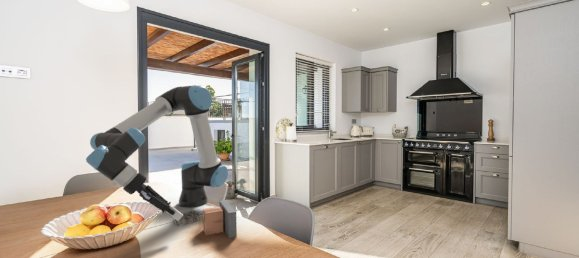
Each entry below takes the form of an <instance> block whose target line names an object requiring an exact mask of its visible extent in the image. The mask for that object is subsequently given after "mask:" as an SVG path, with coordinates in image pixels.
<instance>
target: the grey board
mask: <svg viewBox="0 0 579 258" xmlns="http://www.w3.org/2000/svg"><path fill="white" fill-rule="evenodd" d="M219 207H221V209H222V210H223V231H224V232H225V234H226V235H227V237H228V239H232V238H237V236H238V235H237V233H238V232H237V211H236V209H234V207H233V206H232V205H231V203H230V202H229V201H228V199H221V200H219Z"/></svg>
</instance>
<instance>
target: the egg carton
mask: <svg viewBox="0 0 579 258" xmlns="http://www.w3.org/2000/svg"><path fill="white" fill-rule="evenodd" d="M181 213H182V214H183V216H182V218H181V219H180V220H179V221H177V220H176V219H174V224H178V226H184V225H187V224H189V223H190V224H192V223H193V222H194V220H195V221H199V220H200V216H201V213H200V212H199V211H197V210H195V209H193V208H192V209H191V210H188V211H185V212H181Z"/></svg>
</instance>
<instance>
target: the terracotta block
mask: <svg viewBox="0 0 579 258" xmlns="http://www.w3.org/2000/svg"><path fill="white" fill-rule="evenodd" d="M202 218H203V219H202V222H203V223H202V224H203V225H202V228H203V229H202V230H203V232H204V235H205V236H211V235H215V233H216V234H220V232H222V233H224V229H223V210H222V209H221V207H220V206H213V207H208V208H203V209H202Z"/></svg>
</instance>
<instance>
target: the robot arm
mask: <svg viewBox="0 0 579 258" xmlns="http://www.w3.org/2000/svg"><path fill="white" fill-rule="evenodd" d="M212 103H213V98H212V94H211V92H210V90H209V89H208V87H207V88H206V87H205V86H203V85H196V84H195V85H186V86H176V87H173V88H171V89H169V90H167V91H165V92H164V93H162V94H161V95H159V96H157V97H156V98H155V99H154V101H153V102H152V103H150V104H148V105H146V106H144V107H143V108H142V109H140V110H139V111H137V112H135V113H134V114H132V115H131V116H129V117H128V118H127V117H126V119H124V120H123V121H121V122H120V123H118V124H116V125H115V126H113V127H112V128H109V129H108V130H106V131H105V132H98V133H95V134H93V135H92V137H91V138H90V139H89V140H90V141H89V145H90V147H91V148H92V150H93V151H91V152H90V153H89V154H88V155H87V157H86V158H85V162H86V163H88V165H89V166H91V167H92V168H93V169H94V170H95V171H98V172H99V173H100V174H101V175H103V176H104V177H106V178H108V179H109V180H110V181H112V182H113V185H114V186H116V185H117V186H119V187H120V188H122V189H123V191H125V192H126V193H127V194H129V195H134V194H135V192H137V193H138V194H139V195H138V196H139V197H141V198H142V200H143V201H146V202H147V203H149V204H151V205H152V206H154V207H155V208H157V209H158V210H160V211H161V212H162V214H165V213H166V214H168V215H169V216H170V217H172V218H173V220H175V219H176V220H177V221H179V220H180V219H181V218H182V216H183V214H182V213H183V212H181V211H179V210H178V209H176V207H174V206H173V205H171V204H172V203H171V201H168V200H166V199H165V198H164V197H163V196H162V195H160V194H159V193H158V192H157V191H156V190H154V189H153V187H151V186H150V185H148V184H147V185H146V183H145V182H146V181H147V177H146V176H145V175H143V174H142V173H140V172H138V170H137V169H135V167H133V166H132V165H130V164H129V163H128V162H126V161H127V160H128V159H129V158H130V157H131V156H132V155H133V154H134V153H135V152H136V151H137V150H138V149H140V148H141V146H142V145H143V144H144V143H145V142H146V136H145V135H144V133H143V132H142V131H144V129H146V128H148V127H149V126H150V125H153V124H154V123H155V122H156V121H158V120H160V119H161V118H162V117H163V116H165V115H170V114H172V113H173V112H177V111H184V113H185V114H184V115H185V116H186V117H187V118H188V119H189V120H190V125H191V129H192V133H193V136H194V141H195V145H196V149H197V154H198V157H199V160H196V161H195V160H194V161H188V162H185V163H182V165H181V170H180V173H181V193H180V195H179V199H178V206H180V207H183V208H184V207H185V208H191V207H192V208H193V207H199V206H202V205H206V204H207V203H208V201H209V200H208V195H207V192H206V190H205V187H210V188H220V187H223V186H224V184H225V183H226V181H227V178H228V175H229V170H228V167H227V166H225V165H223V164H222V161H221V159H220V158H219V157H218V156H217V153H216V147H215V143H214V139H213V135H212V130H211V126H210V121H209V120H210V119H209V115H208V114H209V113H210V108H211V107H212V105H213V104H212Z"/></svg>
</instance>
